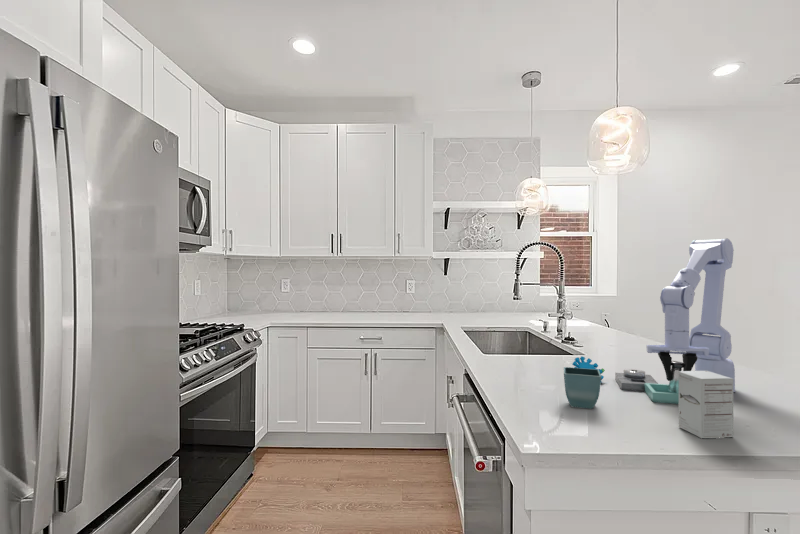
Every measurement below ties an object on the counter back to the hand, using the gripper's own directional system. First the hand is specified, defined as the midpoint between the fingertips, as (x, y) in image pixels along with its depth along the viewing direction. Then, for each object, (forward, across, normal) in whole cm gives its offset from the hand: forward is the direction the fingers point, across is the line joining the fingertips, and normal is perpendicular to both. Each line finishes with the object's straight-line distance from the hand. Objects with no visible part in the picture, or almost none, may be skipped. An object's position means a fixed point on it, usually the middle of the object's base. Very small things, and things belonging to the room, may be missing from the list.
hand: (677, 380), depth 127 cm
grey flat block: (+5, -8, +13) cm, 16 cm away
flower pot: (+5, -25, -15) cm, 30 cm away
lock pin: (+3, -1, +1) cm, 3 cm away
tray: (+5, 0, 0) cm, 5 cm away
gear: (+5, -21, +12) cm, 25 cm away
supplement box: (+5, -1, -28) cm, 28 cm away
